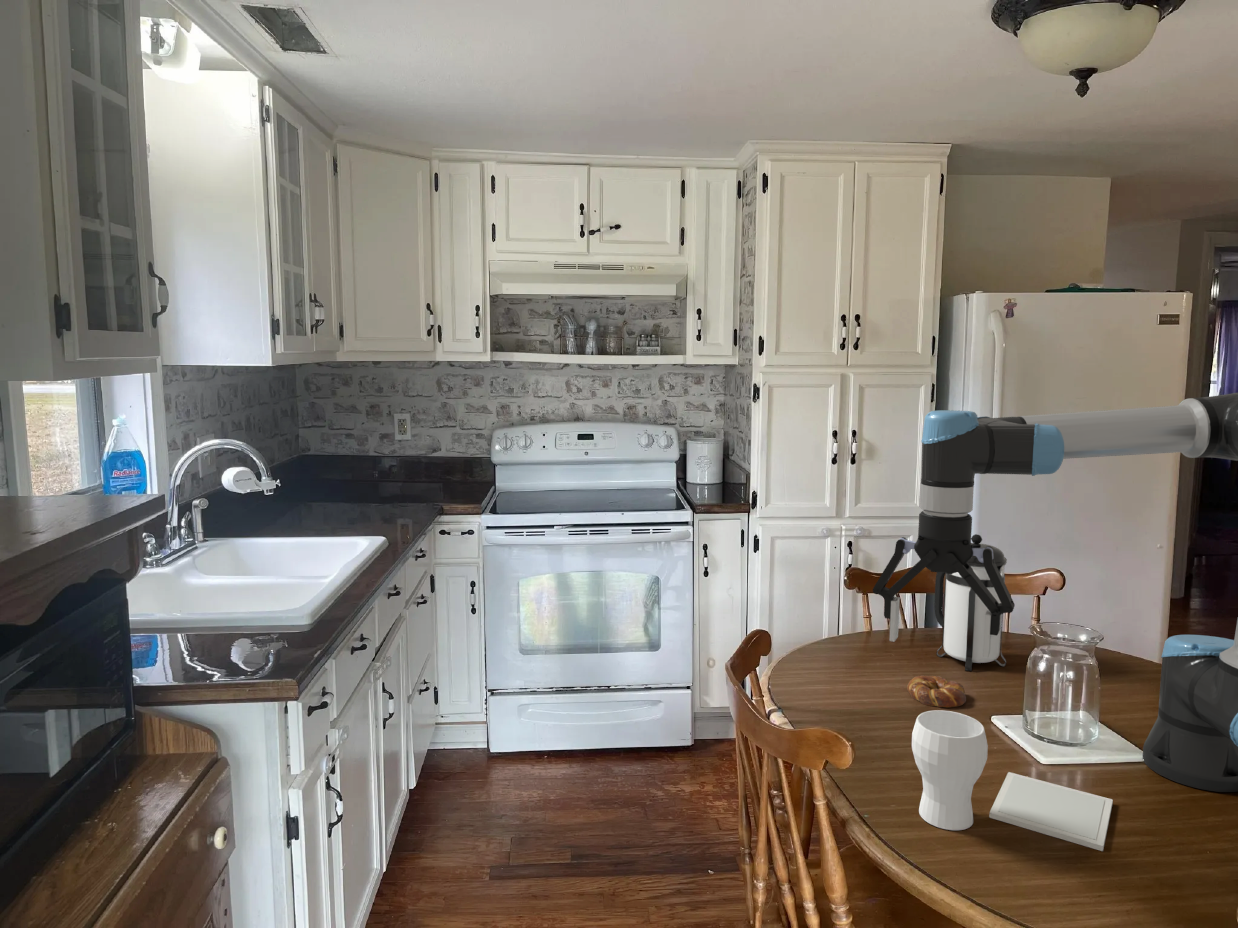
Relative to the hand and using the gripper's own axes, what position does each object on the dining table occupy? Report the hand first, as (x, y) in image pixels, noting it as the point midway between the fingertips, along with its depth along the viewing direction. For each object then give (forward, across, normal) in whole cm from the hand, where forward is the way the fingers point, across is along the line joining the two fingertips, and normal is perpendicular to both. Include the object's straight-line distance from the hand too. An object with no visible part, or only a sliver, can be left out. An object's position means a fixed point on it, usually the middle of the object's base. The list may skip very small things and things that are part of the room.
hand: (938, 646), depth 125 cm
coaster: (+25, -17, -6) cm, 31 cm away
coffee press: (+25, +4, -68) cm, 73 cm away
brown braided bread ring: (+26, +6, -42) cm, 50 cm away
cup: (+26, -3, +4) cm, 26 cm away
